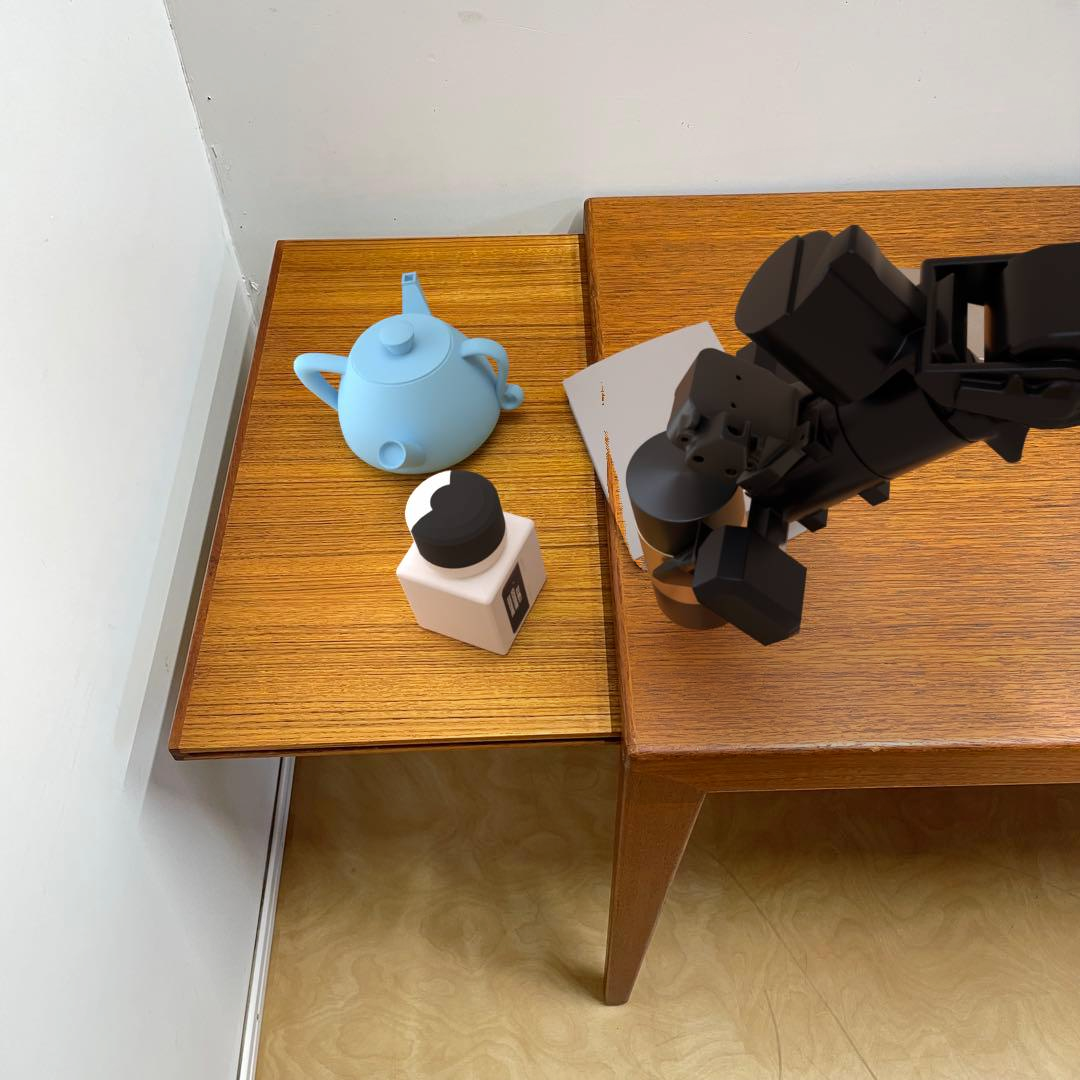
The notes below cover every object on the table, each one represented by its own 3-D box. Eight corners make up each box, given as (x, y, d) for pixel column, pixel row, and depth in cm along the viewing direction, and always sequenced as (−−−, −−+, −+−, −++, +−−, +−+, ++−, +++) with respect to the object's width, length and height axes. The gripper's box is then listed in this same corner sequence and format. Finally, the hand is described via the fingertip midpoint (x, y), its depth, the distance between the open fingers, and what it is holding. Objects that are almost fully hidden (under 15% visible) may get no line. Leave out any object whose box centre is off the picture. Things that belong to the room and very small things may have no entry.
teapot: (297, 450, 90) (253, 359, 81) (429, 339, 96) (402, 244, 87) (414, 529, 82) (380, 439, 74) (548, 403, 89) (532, 307, 80)
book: (720, 339, 91) (720, 306, 88) (827, 528, 77) (832, 497, 74) (560, 385, 90) (555, 353, 87) (639, 584, 76) (636, 555, 73)
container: (548, 577, 78) (524, 471, 67) (506, 658, 74) (473, 559, 64) (463, 550, 81) (427, 445, 70) (417, 627, 77) (372, 527, 66)
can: (770, 605, 66) (763, 490, 55) (680, 647, 66) (654, 541, 55) (724, 531, 70) (708, 408, 59) (638, 570, 70) (606, 456, 58)
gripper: (785, 217, 53) (601, 355, 65) (739, 486, 43) (531, 592, 54) (915, 337, 57) (722, 446, 69) (903, 608, 47) (678, 682, 59)
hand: (667, 530), depth 63 cm, fingers closed on can, 7 cm apart
